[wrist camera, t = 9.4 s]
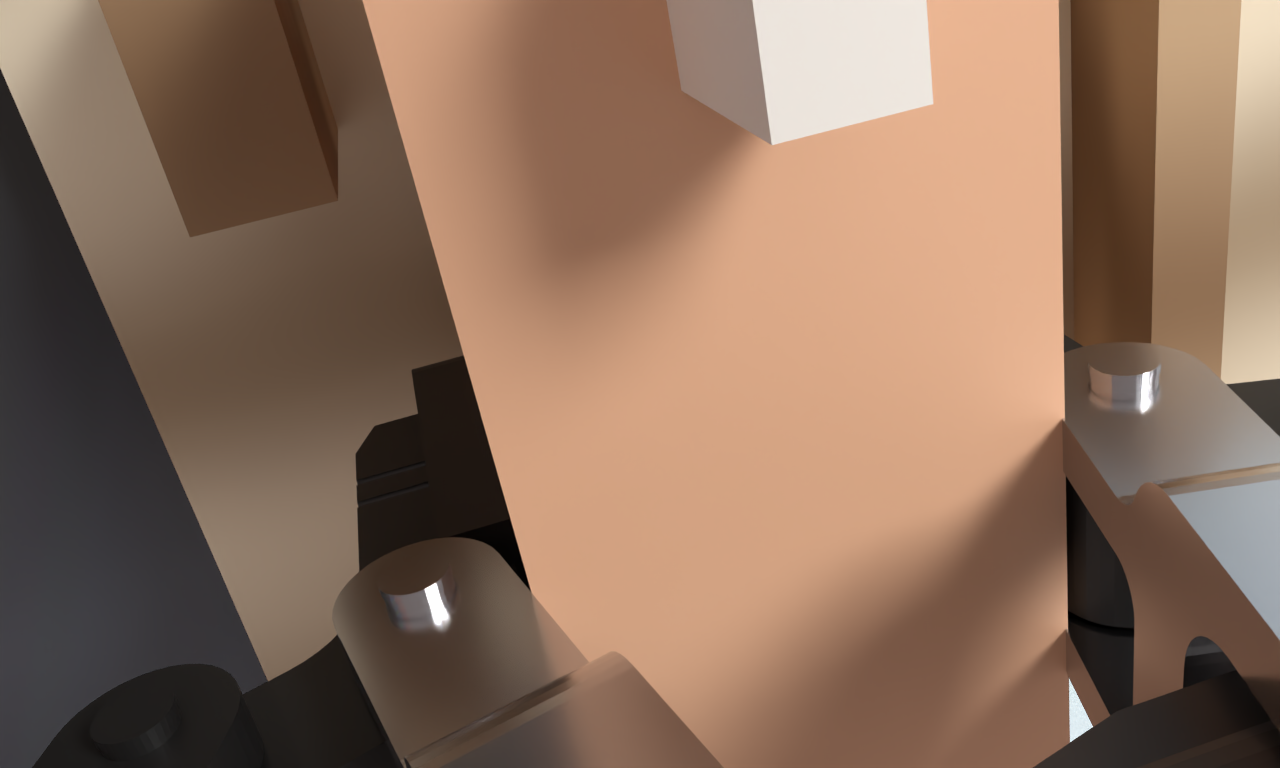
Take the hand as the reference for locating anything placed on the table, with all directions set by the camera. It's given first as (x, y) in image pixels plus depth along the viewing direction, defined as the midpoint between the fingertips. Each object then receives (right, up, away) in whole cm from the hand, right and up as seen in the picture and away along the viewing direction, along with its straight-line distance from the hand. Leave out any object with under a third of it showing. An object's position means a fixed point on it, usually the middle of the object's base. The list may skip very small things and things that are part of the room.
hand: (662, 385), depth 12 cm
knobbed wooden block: (0, 0, 0) cm, 0 cm away
